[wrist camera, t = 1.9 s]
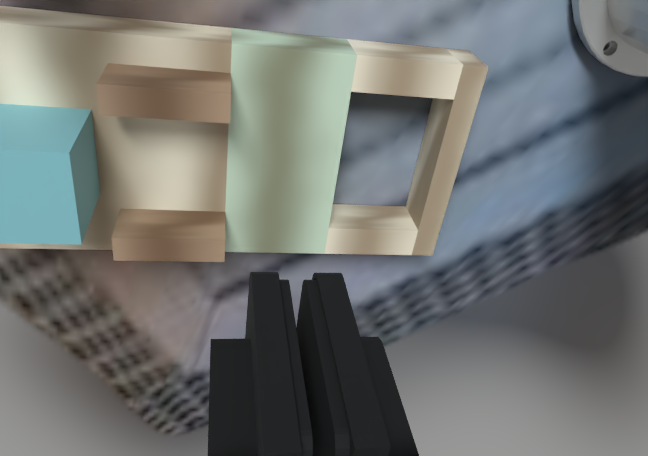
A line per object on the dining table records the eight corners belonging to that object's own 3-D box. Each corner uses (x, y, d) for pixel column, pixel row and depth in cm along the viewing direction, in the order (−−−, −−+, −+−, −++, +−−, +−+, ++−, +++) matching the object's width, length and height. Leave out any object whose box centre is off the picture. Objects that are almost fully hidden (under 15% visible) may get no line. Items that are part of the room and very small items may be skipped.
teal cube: (91, 109, 28) (68, 152, 24) (100, 193, 31) (81, 244, 27) (-16, 102, 27) (-58, 146, 23) (3, 189, 30) (-31, 242, 26)
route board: (468, 50, 33) (511, 86, 28) (419, 230, 40) (447, 283, 35) (-33, 2, 27) (-89, 35, 22) (13, 220, 34) (-22, 280, 30)
